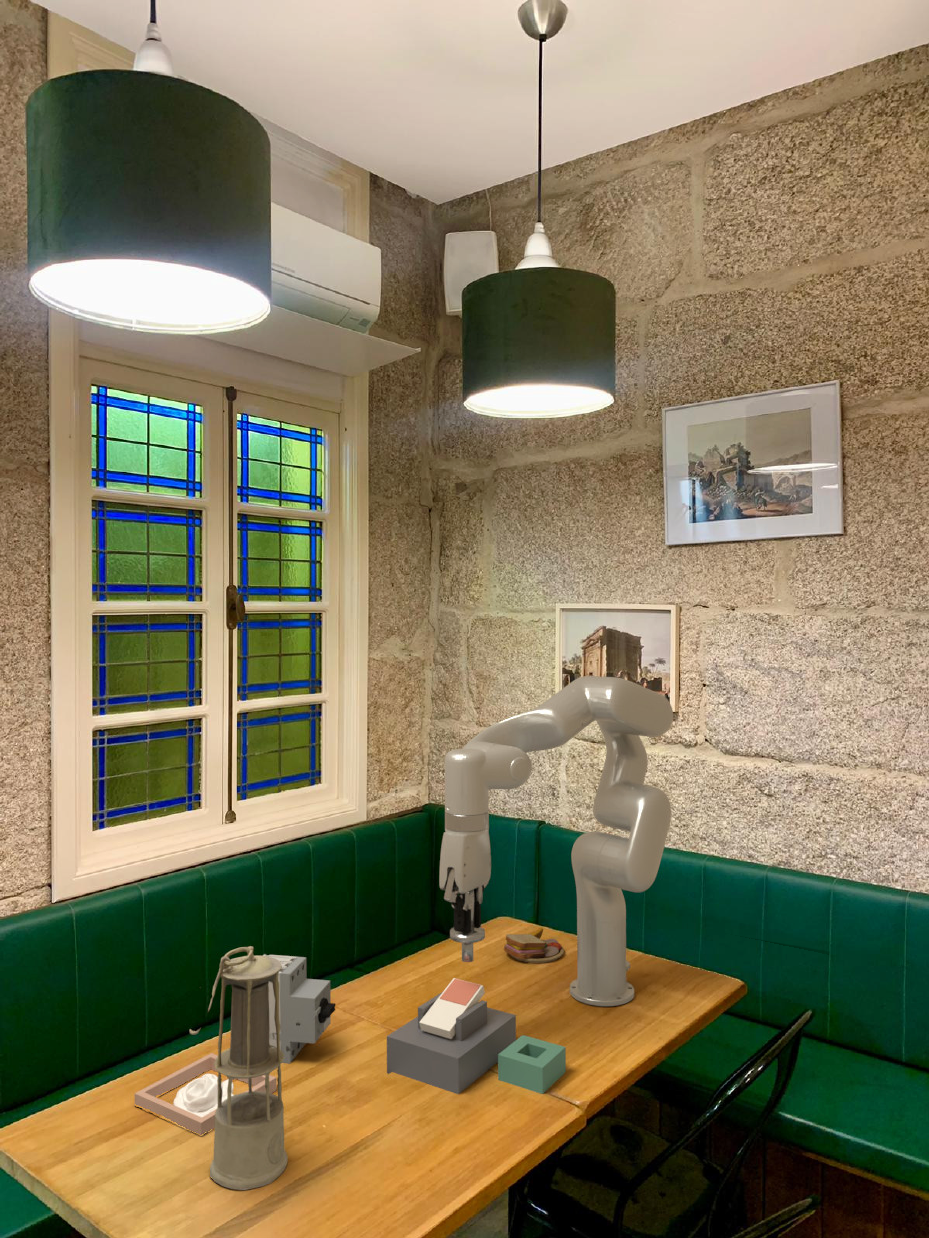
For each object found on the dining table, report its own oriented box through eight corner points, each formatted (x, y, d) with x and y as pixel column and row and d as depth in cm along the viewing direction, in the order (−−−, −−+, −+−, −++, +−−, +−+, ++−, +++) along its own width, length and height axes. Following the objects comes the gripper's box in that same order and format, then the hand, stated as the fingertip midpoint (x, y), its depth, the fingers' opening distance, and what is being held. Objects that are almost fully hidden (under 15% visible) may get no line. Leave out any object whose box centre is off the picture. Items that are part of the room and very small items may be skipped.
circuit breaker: (324, 1066, 148) (324, 976, 148) (244, 1059, 151) (244, 970, 151) (340, 1045, 155) (339, 959, 155) (263, 1038, 158) (262, 954, 158)
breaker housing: (448, 1029, 161) (448, 977, 161) (515, 1049, 153) (515, 994, 153) (386, 1072, 146) (386, 1014, 146) (458, 1097, 138) (458, 1035, 138)
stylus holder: (522, 1061, 149) (522, 1034, 149) (565, 1074, 145) (565, 1046, 145) (498, 1082, 143) (498, 1054, 143) (542, 1096, 138) (542, 1067, 138)
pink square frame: (211, 1064, 149) (211, 1052, 149) (276, 1089, 141) (276, 1077, 141) (134, 1106, 136) (134, 1093, 136) (201, 1136, 128) (201, 1122, 128)
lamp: (300, 1170, 120) (298, 948, 120) (205, 1209, 112) (204, 971, 112) (269, 1135, 128) (267, 927, 128) (178, 1168, 121) (177, 947, 121)
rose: (251, 1069, 139) (211, 1100, 130) (251, 1098, 139) (211, 1131, 130) (199, 1058, 143) (156, 1087, 134) (199, 1085, 143) (156, 1117, 134)
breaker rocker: (455, 985, 156) (453, 977, 155) (484, 993, 153) (482, 984, 152) (421, 1030, 147) (418, 1021, 147) (451, 1039, 144) (449, 1030, 143)
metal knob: (462, 951, 157) (461, 882, 157) (491, 957, 154) (491, 888, 154) (443, 962, 152) (442, 891, 152) (473, 969, 149) (472, 897, 149)
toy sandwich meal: (573, 961, 194) (573, 939, 194) (516, 969, 189) (516, 947, 189) (549, 941, 206) (549, 920, 206) (494, 949, 201) (494, 928, 201)
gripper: (473, 810, 162) (473, 912, 162) (421, 828, 149) (422, 939, 148) (509, 815, 158) (509, 919, 158) (459, 834, 145) (460, 947, 144)
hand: (467, 928), depth 153 cm, fingers closed on metal knob
